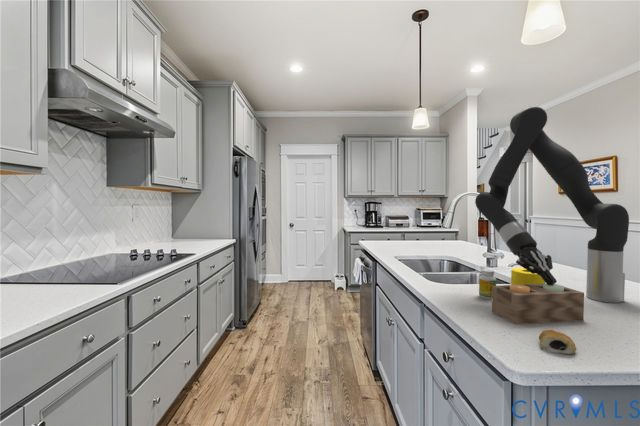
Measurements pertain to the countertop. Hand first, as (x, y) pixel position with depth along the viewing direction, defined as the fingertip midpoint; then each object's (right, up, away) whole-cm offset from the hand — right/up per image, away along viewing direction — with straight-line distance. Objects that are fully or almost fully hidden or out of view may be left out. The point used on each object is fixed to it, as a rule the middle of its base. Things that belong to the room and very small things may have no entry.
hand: (552, 283), depth 93 cm
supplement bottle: (-10, -9, +18) cm, 23 cm away
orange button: (-11, -4, -1) cm, 11 cm away
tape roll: (+4, -9, +18) cm, 21 cm away
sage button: (0, -4, 0) cm, 4 cm away
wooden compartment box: (-5, -9, 0) cm, 11 cm away
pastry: (-14, -11, -20) cm, 27 cm away
